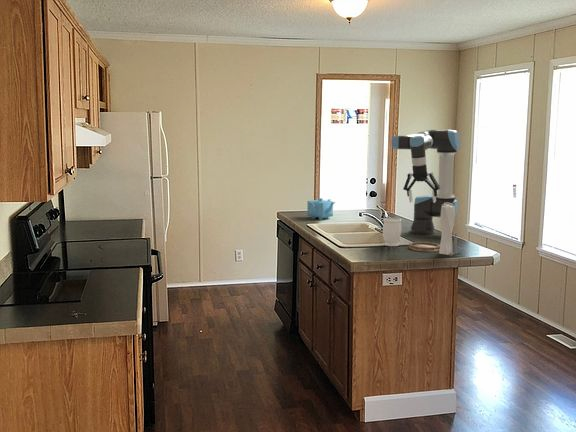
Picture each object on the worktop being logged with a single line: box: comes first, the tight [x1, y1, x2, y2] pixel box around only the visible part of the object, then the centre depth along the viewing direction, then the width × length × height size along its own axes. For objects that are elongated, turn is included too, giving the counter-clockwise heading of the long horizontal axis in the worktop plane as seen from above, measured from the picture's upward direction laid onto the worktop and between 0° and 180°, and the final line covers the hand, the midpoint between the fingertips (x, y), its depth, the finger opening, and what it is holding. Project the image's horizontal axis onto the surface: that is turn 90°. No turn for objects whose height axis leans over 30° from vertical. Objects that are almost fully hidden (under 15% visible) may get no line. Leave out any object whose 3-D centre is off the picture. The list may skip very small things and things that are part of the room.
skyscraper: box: [438, 203, 458, 256], centre depth 322 cm, size 8×8×28 cm
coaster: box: [408, 241, 440, 253], centre depth 336 cm, size 17×17×2 cm
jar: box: [382, 217, 403, 247], centre depth 344 cm, size 11×10×15 cm
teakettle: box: [306, 197, 336, 221], centre depth 437 cm, size 19×19×15 cm
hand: (422, 202), depth 336 cm, fingers open, 13 cm apart
